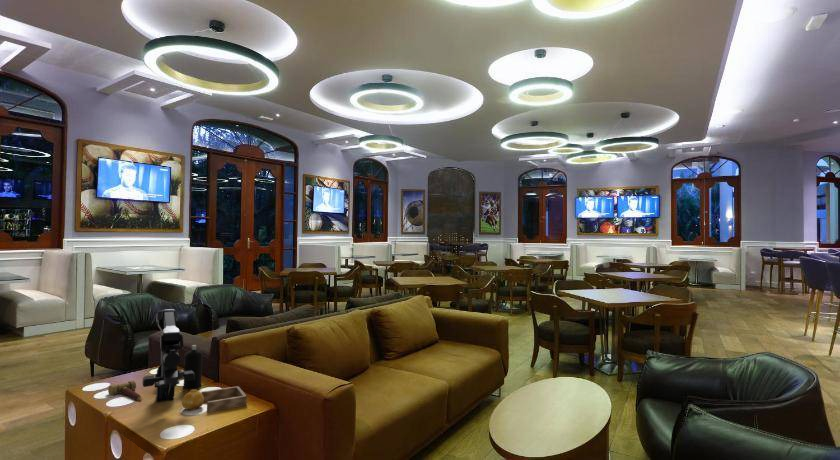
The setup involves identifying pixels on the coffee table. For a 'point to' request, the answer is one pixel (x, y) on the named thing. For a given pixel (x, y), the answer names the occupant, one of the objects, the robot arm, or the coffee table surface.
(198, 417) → the coffee table surface
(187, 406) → the fruit
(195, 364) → the aerosol can
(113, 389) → the gavel
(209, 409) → the tray
